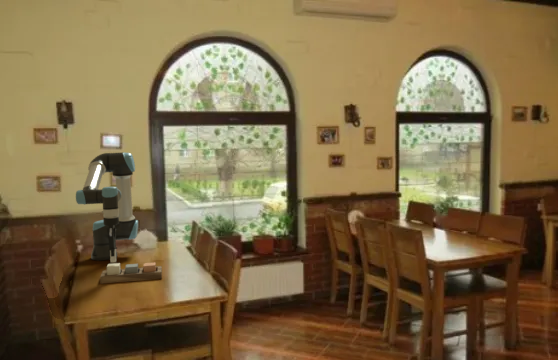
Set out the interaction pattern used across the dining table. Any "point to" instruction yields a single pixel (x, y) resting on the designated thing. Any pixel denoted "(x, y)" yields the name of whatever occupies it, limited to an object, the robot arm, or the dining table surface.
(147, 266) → the terracotta key
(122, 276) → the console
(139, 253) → the dining table surface
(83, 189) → the robot arm
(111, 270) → the ivory key
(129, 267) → the slate key
